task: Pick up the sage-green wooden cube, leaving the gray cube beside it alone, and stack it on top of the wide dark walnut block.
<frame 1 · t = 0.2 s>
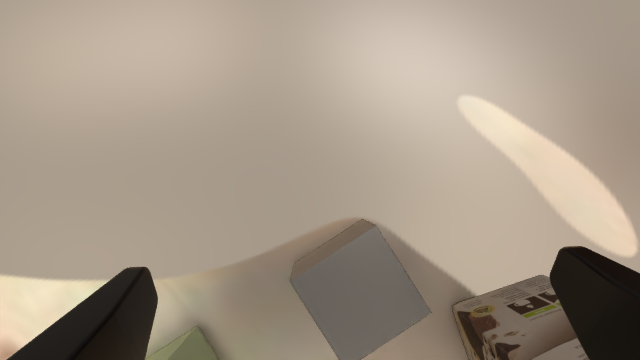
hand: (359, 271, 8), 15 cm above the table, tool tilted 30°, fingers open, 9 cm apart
gray cube: (350, 274, 23), on the table
coffee box: (517, 357, 23), on the table
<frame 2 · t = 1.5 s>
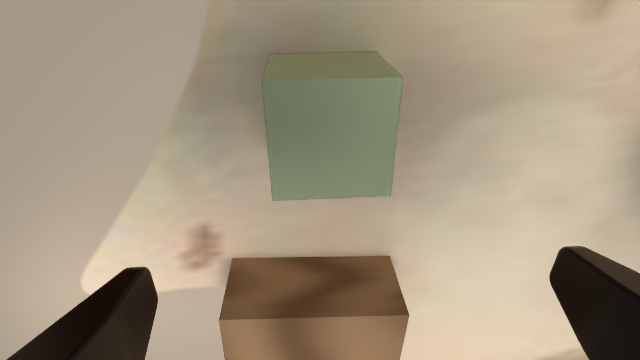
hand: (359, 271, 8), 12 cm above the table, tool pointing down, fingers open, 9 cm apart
walnut block: (310, 308, 26), on the table
sage cube: (323, 103, 19), on the table
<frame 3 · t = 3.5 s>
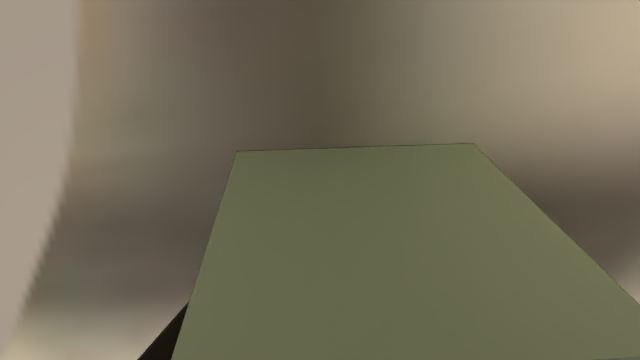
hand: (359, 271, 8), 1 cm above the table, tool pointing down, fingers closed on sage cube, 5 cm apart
sage cube: (352, 240, 9), on the table, touching gripper
when the fingers open (7 cm above the table, at t = 7.9 s): sage cube drops 2 cm, resting on walnut block.
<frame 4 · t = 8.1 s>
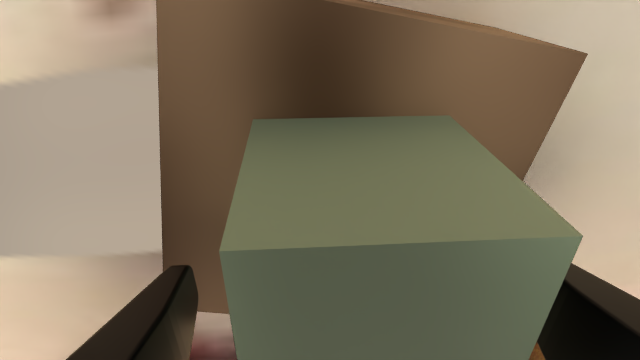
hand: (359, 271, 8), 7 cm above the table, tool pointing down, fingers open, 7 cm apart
walnut block: (328, 134, 15), on the table, touching sage cube
sage cube: (348, 200, 11), point 5 cm above the table, touching walnut block
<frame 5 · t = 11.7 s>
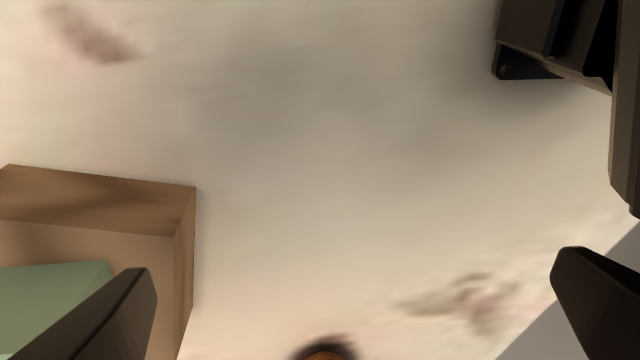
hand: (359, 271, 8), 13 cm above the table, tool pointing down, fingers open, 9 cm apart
fruit: (323, 357, 30), on the table
walnut block: (114, 241, 24), on the table
sage cube: (73, 300, 19), point 5 cm above the table
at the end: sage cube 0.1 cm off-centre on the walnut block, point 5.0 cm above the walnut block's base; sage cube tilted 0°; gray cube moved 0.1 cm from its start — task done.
